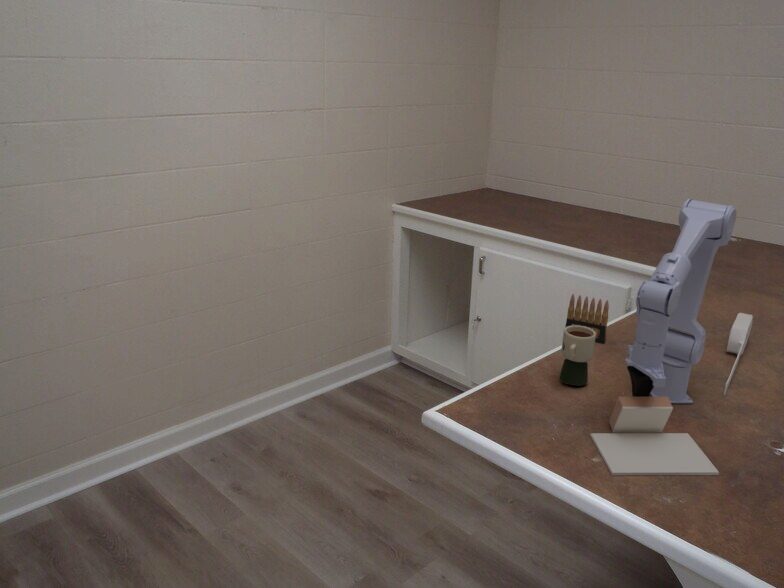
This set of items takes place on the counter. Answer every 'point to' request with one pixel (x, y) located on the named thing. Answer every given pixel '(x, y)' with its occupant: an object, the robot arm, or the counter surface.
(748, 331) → the white long handled piece
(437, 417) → the counter surface
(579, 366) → the character mug
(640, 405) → the tile
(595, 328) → the ammunition clip
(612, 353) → the counter surface
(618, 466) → the board
